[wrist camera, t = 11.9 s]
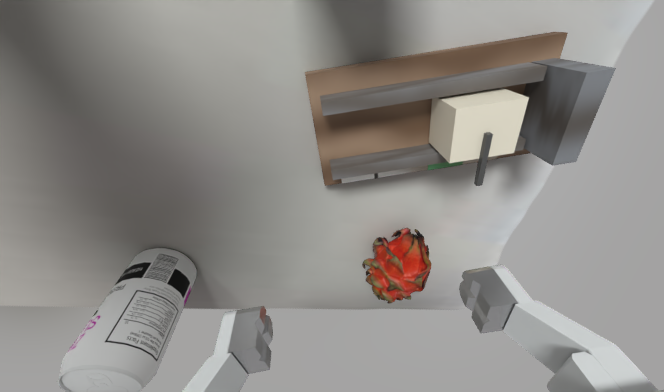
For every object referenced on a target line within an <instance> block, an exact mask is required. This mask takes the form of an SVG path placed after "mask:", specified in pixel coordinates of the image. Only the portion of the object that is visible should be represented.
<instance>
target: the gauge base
mask: <svg viewBox="0 0 664 392" xmlns="http://www.w3.org/2000/svg"><path fill="white" fill-rule="evenodd" d="M566 36H567V33H565V32H551V33H545V34H539V35H532V36H526V37H520V38H514V39H508V40H501V41H495V42H489V43H483V44H477V45H470V46H464V47H458V48H452V49H446V50H439V51H433V52H427V53H421V54H415V55H408V56H402V57H396V58H390V59H384V60H377V61H371V62H365V63H359V64H353V65H346V66H340V67H334V68H328V69H322V70H315V71H309V72H305V76H306V81H307V87H308V93H309V98H310V104H311V110H312V115H313V121H314V127H315V132H316V138H317V144H318V149H319V155H320V161H321V167H322V172H323V178H324V184H325V186H326V185H333V184H339V183H348V182H355V181H361V180H367V179H373V178H375V179H376V178H380V177H386V176H392V175H399V174H405V173H411V172H418V171H424V170H433V169H439V168H445V167H452V166H458V165H462V164H468V163H474V162H478V161H479V159H473V160H467V161H461V162H454V163H449V162H448V161H447V160H446V159H445V158H444V157H443V156H442V155H441V154H440V153H439V152H438V151H437V150H436V149H435V148H434V147H433V146H432V145H431V144H430V143H429V133H430V119H431V106H432V98H439V97H445V96H451V95H457V94H463V93H470V92H476V91H482V90H488V89H495V88H504V89H507V90H510V91H512V92H515V93H518V94H521V95H523V96H526V97H529V100H528V103H527V107H526V111H525V114H524V118H523V122H522V125H521V129H520V133H519V136H518V140H517V144H516V147H515V151H514V153H511V154H505V155H498V156H492V157H488V160H493V159H497V158H503V157H509V156H516V155H522V154H528V153H530V152H531V153H532V154H534V155H536V156H537V157H539V158H541V159H542V160H544V161H546V162H547V163H549V164H551V165H558V164H565V163H571V162H576V161H577V158H578V156H579V153H580V151H581V149H582V146H583V144H584V142H585V139H586V137H587V135H588V132H589V130H590V128H591V125H592V123H593V120H594V118H595V116H596V113H597V111H598V109H599V106H600V104H601V102H602V99H603V97H604V95H605V92H606V90H607V87H608V85H609V83H610V80H611V78H612V75H613V73H614V71H615V69H616V68H612V67H606V66H600V65H594V64H588V63H582V62H576V61H570V60H564V59H560V56H561V53H562V49H563V46H564V43H565V40H566Z"/></svg>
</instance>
